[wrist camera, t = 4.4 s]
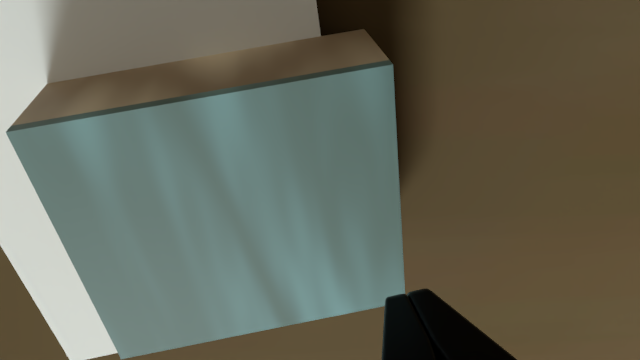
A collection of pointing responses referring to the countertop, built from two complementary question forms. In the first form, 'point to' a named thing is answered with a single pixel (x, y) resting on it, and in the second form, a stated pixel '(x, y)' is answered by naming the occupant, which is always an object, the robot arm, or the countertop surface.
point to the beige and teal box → (224, 188)
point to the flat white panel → (94, 59)
